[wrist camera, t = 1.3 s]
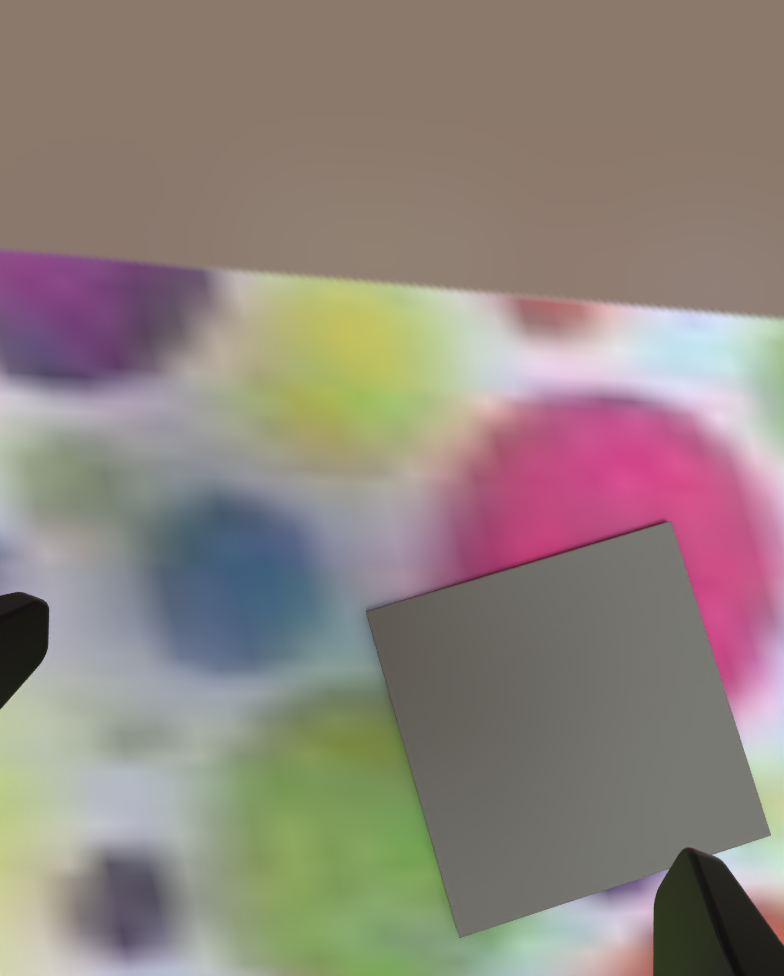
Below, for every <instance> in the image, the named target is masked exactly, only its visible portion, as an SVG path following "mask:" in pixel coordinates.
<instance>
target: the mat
mask: <svg viewBox="0 0 784 976" xmlns="http://www.w3.org/2000/svg"><path fill="white" fill-rule="evenodd" d="M366 614H367V617H368V621H369V624H370V628H371V631H372V635H373V638H374V642H375V645H376V649H377V652H378V656H379V659H380V663H381V666H382V670H383V673H384V677H385V680H386V684H387V687H388V690H389V694H390V697H391V701H392V704H393V708H394V711H395V715H396V718H397V722H398V725H399V729H400V732H401V736H402V739H403V743H404V746H405V750H406V753H407V757H408V760H409V764H410V767H411V771H412V774H413V778H414V781H415V785H416V788H417V792H418V795H419V799H420V802H421V805H422V809H423V812H424V816H425V819H426V823H427V826H428V830H429V833H430V837H431V840H432V844H433V847H434V851H435V854H436V858H437V861H438V865H439V868H440V872H441V875H442V879H443V882H444V886H445V889H446V893H447V896H448V900H449V903H450V907H451V910H452V914H453V917H454V921H455V924H456V927H457V931H458V934H459V938H461V937H464V936H467V935H470V934H473V933H476V932H479V931H482V930H485V929H488V928H491V927H494V926H497V925H500V924H504V923H507V922H510V921H513V920H516V919H519V918H522V917H525V916H528V915H531V914H534V913H537V912H540V911H543V910H546V909H549V908H552V907H555V906H558V905H561V904H564V903H567V902H570V901H573V900H576V899H579V898H582V897H585V896H588V895H592V894H595V893H598V892H601V891H604V890H607V889H610V888H613V887H616V886H619V885H622V884H625V883H628V882H631V881H634V880H637V879H640V878H643V877H646V876H649V875H652V874H655V873H658V872H661V871H664V870H667V869H670V868H671V866H672V864H673V863H674V861H675V859H676V858H677V856H678V854H679V853H680V852H681V850H683V849H684V848H687V847H691V848H694V849H697V850H699V851H702V852H705V853H707V854H710V855H713V854H716V853H719V852H722V851H725V850H728V849H731V848H734V847H737V846H740V845H743V844H746V843H749V842H752V841H755V840H758V839H761V838H764V837H768V836H771V834H770V831H769V827H768V824H767V821H766V818H765V815H764V812H763V809H762V805H761V802H760V799H759V796H758V793H757V790H756V787H755V784H754V780H753V777H752V774H751V771H750V768H749V765H748V762H747V758H746V755H745V752H744V749H743V746H742V743H741V740H740V736H739V733H738V730H737V727H736V724H735V721H734V718H733V714H732V711H731V708H730V705H729V702H728V699H727V696H726V692H725V689H724V686H723V683H722V680H721V677H720V674H719V670H718V667H717V664H716V661H715V658H714V655H713V652H712V649H711V645H710V642H709V639H708V636H707V633H706V630H705V627H704V623H703V620H702V617H701V614H700V611H699V608H698V605H697V601H696V598H695V595H694V592H693V589H692V586H691V583H690V579H689V576H688V573H687V570H686V567H685V564H684V561H683V557H682V554H681V551H680V548H679V545H678V542H677V539H676V535H675V532H674V529H673V526H672V523H671V521H670V522H663V523H660V524H657V525H653V526H650V527H647V528H643V529H640V530H637V531H633V532H630V533H627V534H623V535H620V536H616V537H613V538H610V539H606V540H603V541H600V542H596V543H593V544H590V545H586V546H583V547H580V548H576V549H573V550H570V551H566V552H563V553H560V554H556V555H553V556H550V557H546V558H543V559H540V560H536V561H533V562H530V563H526V564H523V565H520V566H516V567H513V568H510V569H506V570H503V571H500V572H496V573H493V574H490V575H486V576H483V577H480V578H476V579H473V580H470V581H466V582H463V583H459V584H456V585H453V586H449V587H446V588H443V589H439V590H436V591H433V592H429V593H426V594H423V595H419V596H416V597H413V598H409V599H406V600H403V601H399V602H396V603H393V604H389V605H386V606H383V607H379V608H376V609H373V610H369V611H366Z"/></svg>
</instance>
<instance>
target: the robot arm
mask: <svg viewBox="0 0 784 976" xmlns="http://www.w3.org/2000/svg"><path fill="white" fill-rule="evenodd" d="M48 635H49V607H48V604H47V602H45V601H44V600H42V599H40V598H37V597H35V596H32V595H29V594H27V593H23V592H15V593H10V594H6V595H1V596H0V709H1V708H2V707H3V706H4V705H5V704H6V703H7V701H8V700H9V699H10V698H11V697H12V696H13V695H14V693H15V692H16V691H17V690H18V689H19V688H20V687H21V685H22V684H23V683H24V682H25V681H26V680H27V679H28V677H29V676H30V675H31V674H32V673H33V672H34V671H35V670H36V668H37V667H38V666H39V665H40V664H41V662H42V661H43V659H44V657H45V655H46V652H47V649H48ZM653 976H784V945H783V944H782V942H781V941H780V940H779V938H778V937H777V935H776V934H775V933H774V931H773V930H772V929H771V927H770V926H769V924H768V923H767V922H766V920H765V919H764V917H763V916H762V915H761V913H760V912H759V910H758V909H757V908H756V906H755V905H754V903H753V902H752V901H751V899H750V898H749V897H748V895H747V894H746V892H745V891H744V890H743V888H742V887H741V885H740V884H739V883H738V881H737V880H736V878H735V877H734V876H733V874H732V873H731V871H730V870H729V869H728V867H727V866H726V865H725V864H724V862H723V861H721V860H720V859H719V858H717V857H715V856H712V855H710V854H707V853H705V852H702V851H699V850H697V849H694V848H691V847H687V848H684V849H683V850H681V852H680V853H679V854H678V856H677V858H676V859H675V861H674V863H673V864H672V866H671V868H670V869H669V871H668V873H667V874H666V876H665V878H664V879H663V881H662V883H661V885H660V886H659V888H658V890H657V893H656V897H655V902H654V933H653Z"/></svg>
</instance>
